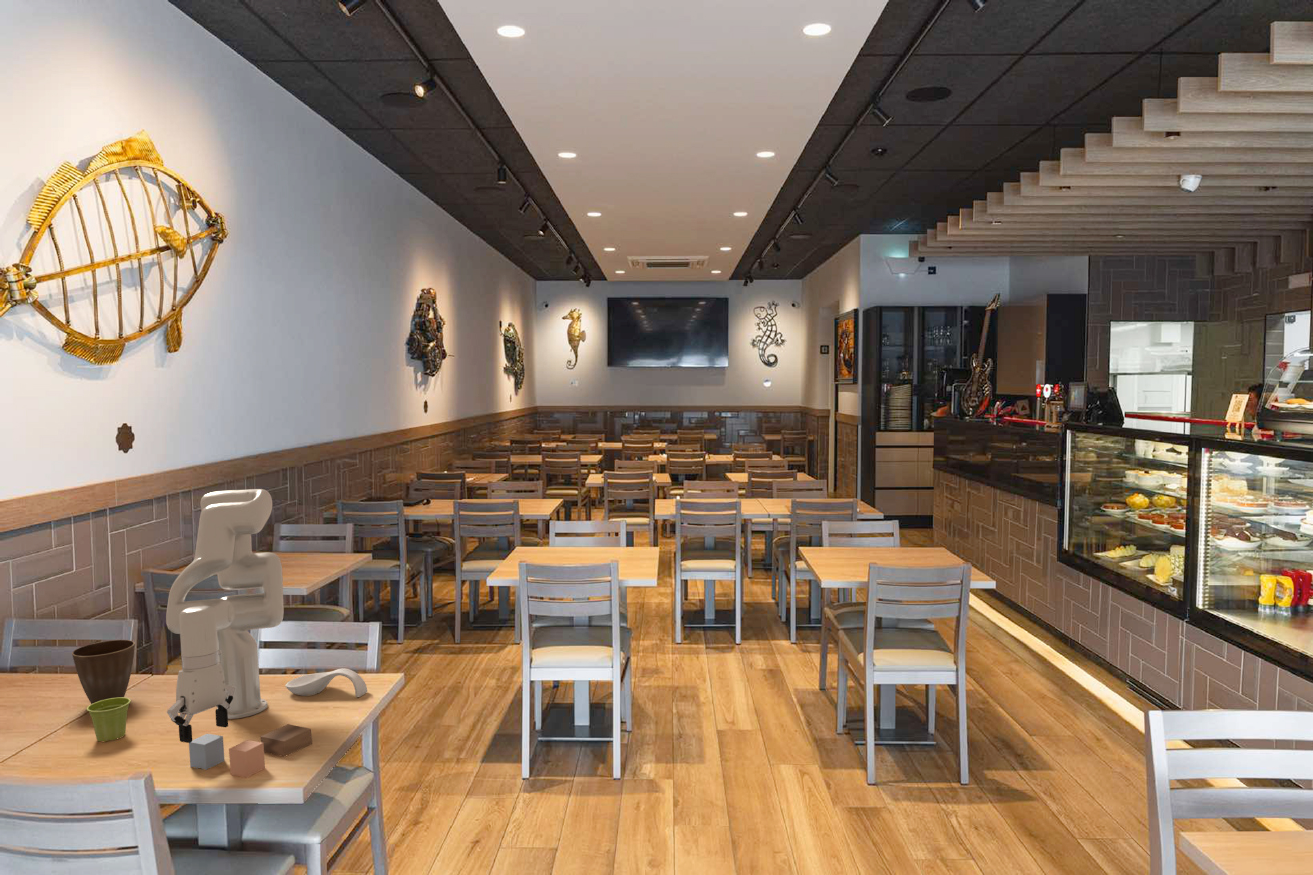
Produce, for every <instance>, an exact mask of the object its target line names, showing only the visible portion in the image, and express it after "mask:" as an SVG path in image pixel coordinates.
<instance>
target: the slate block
mask: <svg viewBox="0 0 1313 875" xmlns="http://www.w3.org/2000/svg"><path fill="white" fill-rule="evenodd" d="M224 746H225V745H224V736H223V735H219V734H218V735H217V734H212V733H206V734H203V735H201V736H199V737H197V738H195V739H192V742H190V743H188V748H189V749H188V752H189V764H190V765H189V766H190V768H192V767H194V768H193V769H198V768H202V769H201V770H203V769H205V771H207V769H208V768H210V769H211V767H212V768H213V766H214V767H215V766H218V765H220V764H221V762H222V763H223V762H225V761H226V760H225V759H226V758H225V749H224ZM217 764H218V765H217ZM195 767H196V768H195ZM208 770H209V769H208Z"/></svg>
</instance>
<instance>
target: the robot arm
mask: <svg viewBox="0 0 1313 875" xmlns="http://www.w3.org/2000/svg"><path fill="white" fill-rule="evenodd" d="M272 499H273V498H272V496H271V494H270V493H269V491H268V490H266V489H263V488H250V489H230V490H217V491H212V492H209V493H205V494H204V495H203V496H202V497H201V499H200V503H199V504H200V510H201V512H200V515H199V523H198V531H197V536H196V537H197V538H196V545H195V546H196V547H195V550H194V551H195V552H194V553H195V554H194V559H193V561H192V562H191V563H190V564H189V565H187V566H186V567H185V568H184V569H183V570H182V571H181V572H180V573H179V574H178V575H177V577H176V579H175V580H174V581H173V583H172V585H171V588H170V591H169V593H168V600H167V607H166V614H165V615H166V616H165V618H166V619H165V621H166V627H167V629H168V630H169V631H170V632H171V633H173V634H178V635H179V638H180V640H179V641H180V654H181V656H180V658H181V669H179V671H178V674H177V679H176V687H175V688H176V689H175V693H176V694H175V700H176V701H175V703H173V704H172V705H171V706H170V707H169V708H168V709H167V711H166V713H167V715H168V716H169V718H170V721H172V722H173V723H174V724H175V725H176V726H178V733H179V734H178V736H179V737H178V738H179V741H180V743H188V744H189V743H190V742H192V740H193V731H192V730H193V726H192V724H190V722H191V720H192V719H193V717H194V716H195V715H197V714H200V713H202V712H205V711H208V710H210V709H213V708H216V709H215V713H214V714H215V724H216V725H215V726H216V727H218V728H227V727H229V720H232V719H233V720H234V719H242V718H246V717H251V716H254V715H257V714H259V713H261V712H263V711H265V710H266V709H267V708H268V701H267V700H266V699H264V698H261V697H262V696H261V682H260V681H261V680H260V667H259V666H260V665H259V655H258V654H259V652H258V651H259V650H258V643H257V640H256V639H255V638H254V636H253V635H252V634H251V633H250V632H249V631H250V630H252V631H253V630H261V629H272V628H275V627H278V626H280V625H281V623H282V622H283V619H284V610H285V608H284V583H283V578H284V577H283V567H282V562H281V559H280V557H279V555H278V554H276V553H275V552H269V551H268V552H253V550H252V535H254V534H255V535H256V534H258V533H260V532H261V531H262V530H263V528H264V527H265V525H266V524H267V522H268V520H269V518H270V516H271V515H272V514H271V513H272V510H273V500H272ZM216 574H217V581H218V585H219V587H220V588H221V589H223V590H227V591H228V590H229V591H240V590H251V589H262V590H263V592H259V593H242V594H234V595H233V594H231V595H227V596H223V597H220V598H211V599H199V600H186V597H187V594H188V593H189V591H190V590H192V588H193V587H195V586H196V585H197V584H199V583H201V582H202V581H204V580H206V579H208V578H210V577H212V576H215V575H216Z"/></svg>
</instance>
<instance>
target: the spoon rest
mask: <svg viewBox="0 0 1313 875" xmlns="http://www.w3.org/2000/svg"><path fill="white" fill-rule="evenodd" d="M337 676H341V677H345V678H347V679H348V680H350V682H351V683H352V684H353V688H354V692H355V694H354V695H355V698H357V697H359V698H361V697H362V696H364V695H366V694H367V693H368V686H367V684H366V682H365V679H363V677H362V676H360V674H359V673H357V672H356V671H354V670H352V669H350V668H344V667H343V668H338V669H334V670H332V671H326V672H315V673H309V674H304V675H301V676H298V677H295V678H293V679H291V680H290V681H288V682H287V683H286V684H285V688H286V689H287V690H288V691H289V692H290V693H292V694H295V695H299V696H301V695H302V697H308V695H310V696H314V695H318V694H319V693H321V692H322V691H323V690H324V689H325V688H326V687H327V686H328V685H329V684H330V683H331V681H332V680H334V678H336V677H337ZM317 693H318V694H317Z"/></svg>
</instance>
